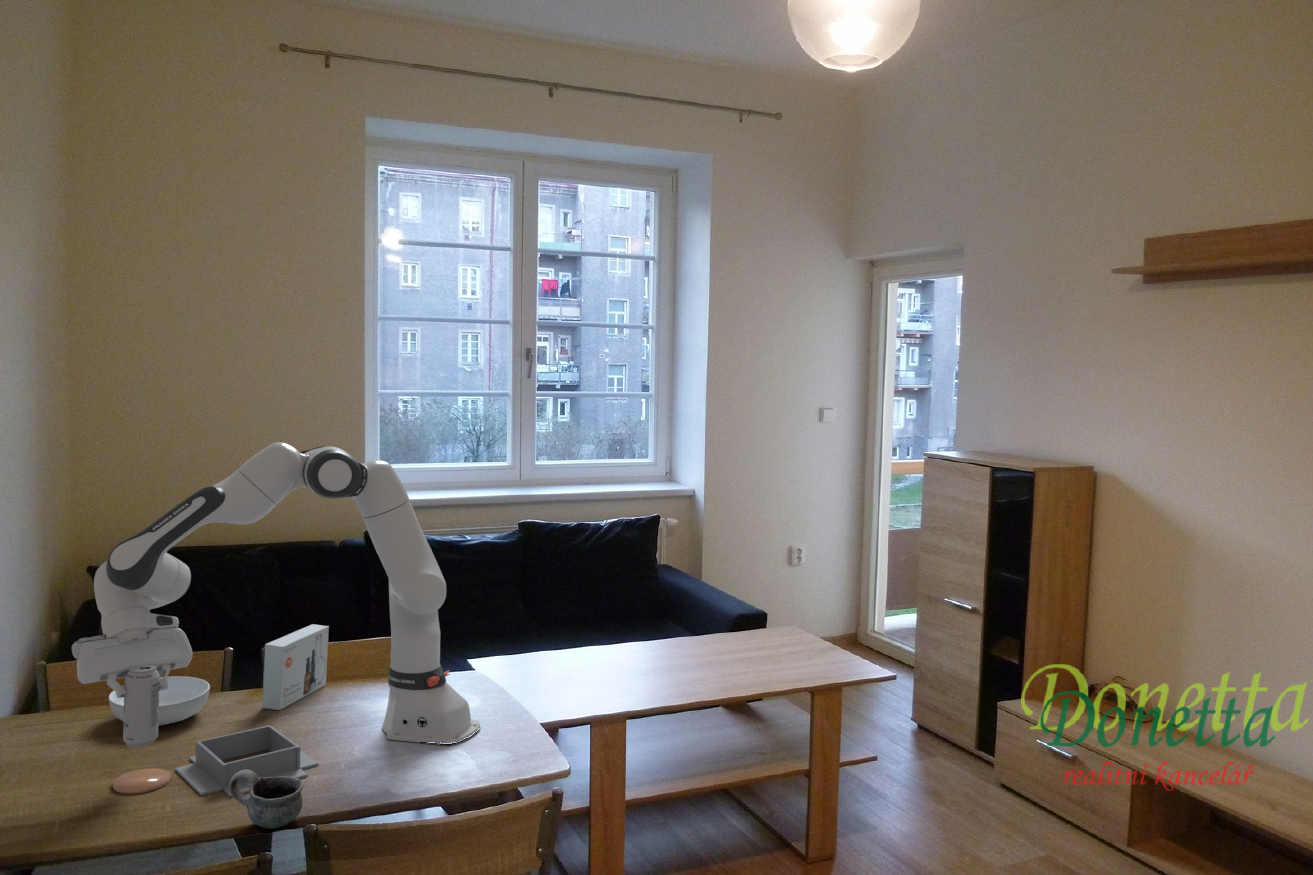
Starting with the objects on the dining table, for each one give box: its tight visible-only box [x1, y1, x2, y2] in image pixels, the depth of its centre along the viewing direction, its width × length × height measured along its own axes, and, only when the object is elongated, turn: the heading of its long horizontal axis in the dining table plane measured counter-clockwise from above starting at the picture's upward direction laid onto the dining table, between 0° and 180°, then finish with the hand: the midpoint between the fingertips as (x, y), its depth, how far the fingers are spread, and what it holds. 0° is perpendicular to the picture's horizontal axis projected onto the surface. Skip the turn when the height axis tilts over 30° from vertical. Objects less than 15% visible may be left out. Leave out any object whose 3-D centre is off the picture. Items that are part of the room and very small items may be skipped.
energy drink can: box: [122, 664, 161, 748], centre depth 187 cm, size 6×6×15 cm
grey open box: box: [174, 724, 319, 798], centre depth 197 cm, size 23×23×5 cm
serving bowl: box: [108, 675, 211, 727], centre depth 222 cm, size 21×21×7 cm
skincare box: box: [261, 623, 330, 711], centre depth 240 cm, size 21×5×16 cm, turn 168°
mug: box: [229, 770, 305, 830], centre depth 173 cm, size 10×12×10 cm
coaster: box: [112, 767, 172, 795], centre depth 188 cm, size 10×10×1 cm
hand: (143, 692), depth 187 cm, fingers closed on energy drink can, 6 cm apart
